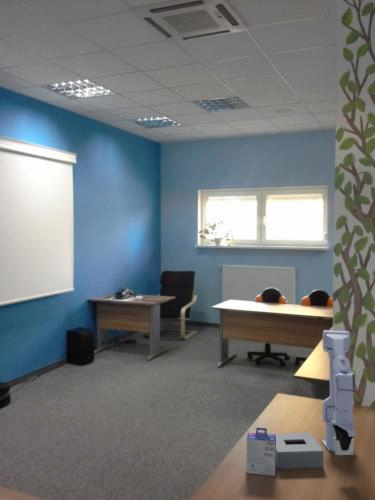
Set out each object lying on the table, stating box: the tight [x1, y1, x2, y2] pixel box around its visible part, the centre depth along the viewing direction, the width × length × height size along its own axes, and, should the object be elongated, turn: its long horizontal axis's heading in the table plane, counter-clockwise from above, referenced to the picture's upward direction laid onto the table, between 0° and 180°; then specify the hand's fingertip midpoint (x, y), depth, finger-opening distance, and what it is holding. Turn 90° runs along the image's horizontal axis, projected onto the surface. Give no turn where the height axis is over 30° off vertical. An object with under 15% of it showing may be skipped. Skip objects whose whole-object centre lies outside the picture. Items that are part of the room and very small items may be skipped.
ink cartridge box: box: [246, 427, 277, 477], centre depth 160 cm, size 10×6×14 cm, turn 78°
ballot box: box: [272, 432, 324, 470], centre depth 169 cm, size 16×14×6 cm
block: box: [332, 437, 355, 456], centre depth 158 cm, size 6×2×5 cm, turn 93°
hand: (343, 447), depth 158 cm, fingers closed on block, 2 cm apart
